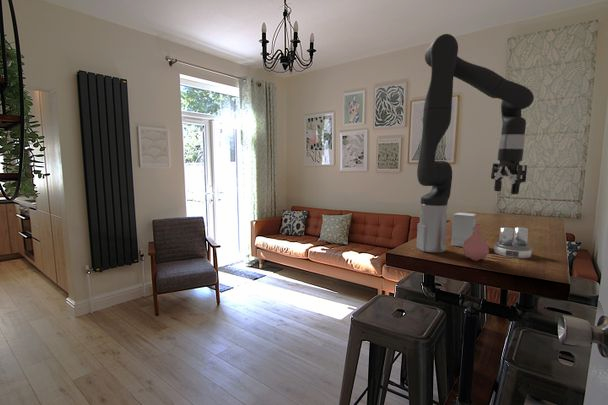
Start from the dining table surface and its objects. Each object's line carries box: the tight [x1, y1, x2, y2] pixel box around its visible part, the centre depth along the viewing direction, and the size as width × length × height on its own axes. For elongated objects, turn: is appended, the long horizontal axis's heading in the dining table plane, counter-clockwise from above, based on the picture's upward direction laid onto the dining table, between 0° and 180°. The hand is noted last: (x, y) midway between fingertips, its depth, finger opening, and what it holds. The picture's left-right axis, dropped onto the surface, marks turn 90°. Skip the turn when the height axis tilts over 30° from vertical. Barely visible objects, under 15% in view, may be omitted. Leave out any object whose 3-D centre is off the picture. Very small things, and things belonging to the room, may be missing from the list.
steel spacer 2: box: [513, 226, 529, 246], centre depth 113 cm, size 4×4×6 cm
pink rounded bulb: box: [462, 223, 490, 262], centre depth 105 cm, size 8×8×12 cm
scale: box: [493, 241, 533, 259], centre depth 113 cm, size 11×11×3 cm
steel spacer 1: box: [499, 226, 515, 246], centre depth 112 cm, size 4×4×6 cm
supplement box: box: [451, 212, 477, 248], centre depth 125 cm, size 7×7×13 cm
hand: (505, 192), depth 115 cm, fingers open, 8 cm apart
